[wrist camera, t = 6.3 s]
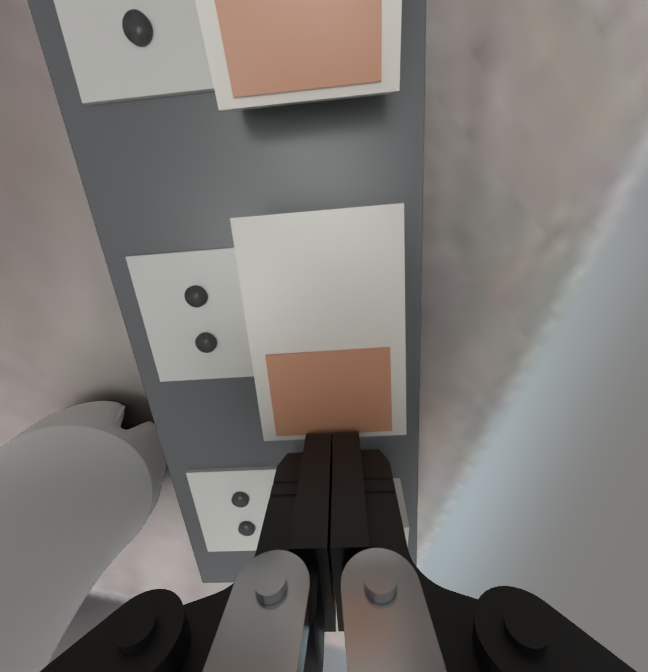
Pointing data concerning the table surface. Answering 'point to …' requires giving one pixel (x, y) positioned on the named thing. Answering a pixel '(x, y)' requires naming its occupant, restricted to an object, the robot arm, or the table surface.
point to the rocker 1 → (300, 50)
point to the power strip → (221, 234)
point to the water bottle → (67, 519)
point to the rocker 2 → (326, 319)
